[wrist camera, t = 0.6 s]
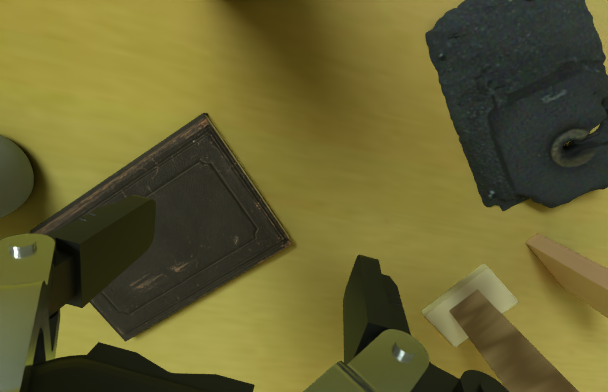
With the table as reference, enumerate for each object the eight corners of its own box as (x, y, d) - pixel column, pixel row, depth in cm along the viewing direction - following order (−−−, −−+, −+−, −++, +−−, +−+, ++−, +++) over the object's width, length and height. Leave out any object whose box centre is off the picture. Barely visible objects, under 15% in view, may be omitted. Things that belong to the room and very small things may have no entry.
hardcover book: (292, 236, 35) (292, 244, 33) (135, 328, 38) (125, 341, 36) (208, 112, 32) (201, 112, 29) (42, 224, 35) (25, 232, 33)
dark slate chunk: (571, -59, 28) (624, -93, 23) (625, 158, 33) (677, 166, 28) (412, 27, 30) (431, 12, 25) (486, 221, 35) (514, 238, 30)
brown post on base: (451, 341, 38) (542, 481, 24) (421, 310, 37) (496, 437, 22) (513, 296, 37) (651, 417, 22) (483, 263, 35) (608, 366, 21)
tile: (563, 288, 36) (658, 352, 27) (525, 242, 35) (610, 291, 25) (576, 279, 36) (677, 340, 26) (538, 232, 34) (630, 278, 25)
